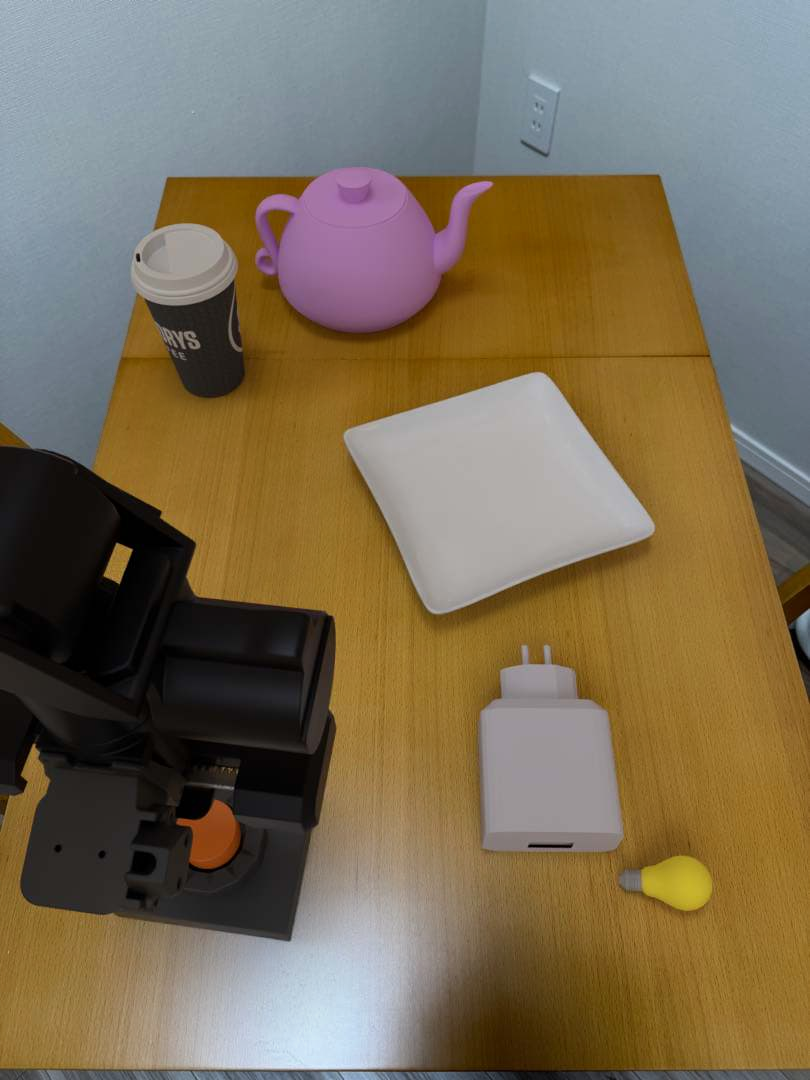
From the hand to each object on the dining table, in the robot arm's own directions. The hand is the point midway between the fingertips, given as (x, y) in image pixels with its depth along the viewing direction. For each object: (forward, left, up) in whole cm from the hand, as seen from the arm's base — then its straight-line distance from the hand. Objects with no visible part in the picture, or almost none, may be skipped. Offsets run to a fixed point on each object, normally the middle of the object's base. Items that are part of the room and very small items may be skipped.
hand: (184, 798), depth 51 cm
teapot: (-20, +58, -12) cm, 62 cm away
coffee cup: (-28, +39, -12) cm, 49 cm away
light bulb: (+28, +12, -12) cm, 33 cm away
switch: (0, 0, -8) cm, 8 cm away
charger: (+17, +17, -12) cm, 27 cm away
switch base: (0, 0, -12) cm, 12 cm away
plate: (+4, +37, -12) cm, 39 cm away
